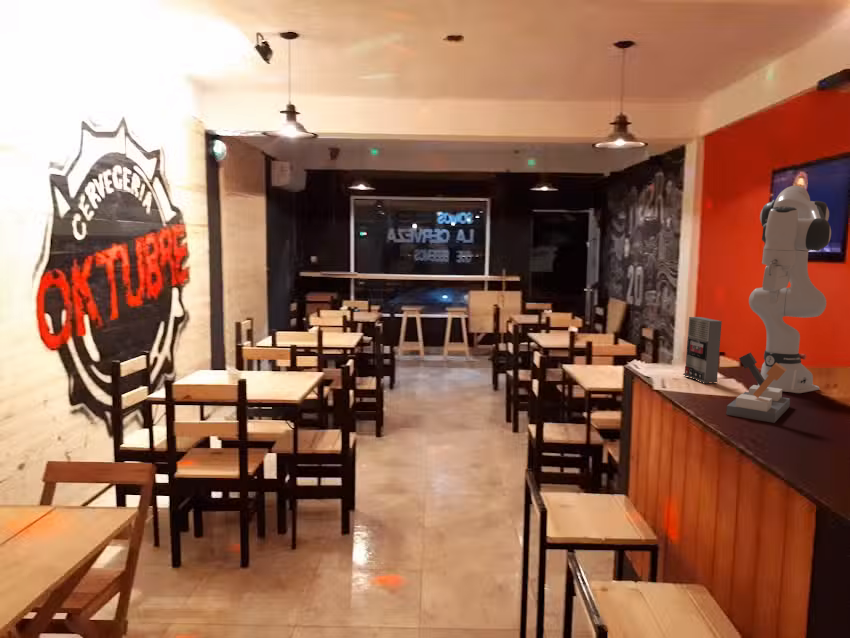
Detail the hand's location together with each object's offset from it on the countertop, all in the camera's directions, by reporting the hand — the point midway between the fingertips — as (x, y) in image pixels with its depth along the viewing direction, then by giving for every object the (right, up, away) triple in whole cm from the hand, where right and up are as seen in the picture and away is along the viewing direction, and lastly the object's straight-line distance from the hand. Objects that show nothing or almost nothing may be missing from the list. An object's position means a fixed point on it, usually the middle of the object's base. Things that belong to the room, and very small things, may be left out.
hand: (773, 303), depth 203 cm
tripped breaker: (-4, -30, +5) cm, 31 cm away
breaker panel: (+2, -35, +12) cm, 38 cm away
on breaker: (+7, -28, +19) cm, 34 cm away
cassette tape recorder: (+2, -30, +59) cm, 66 cm away
